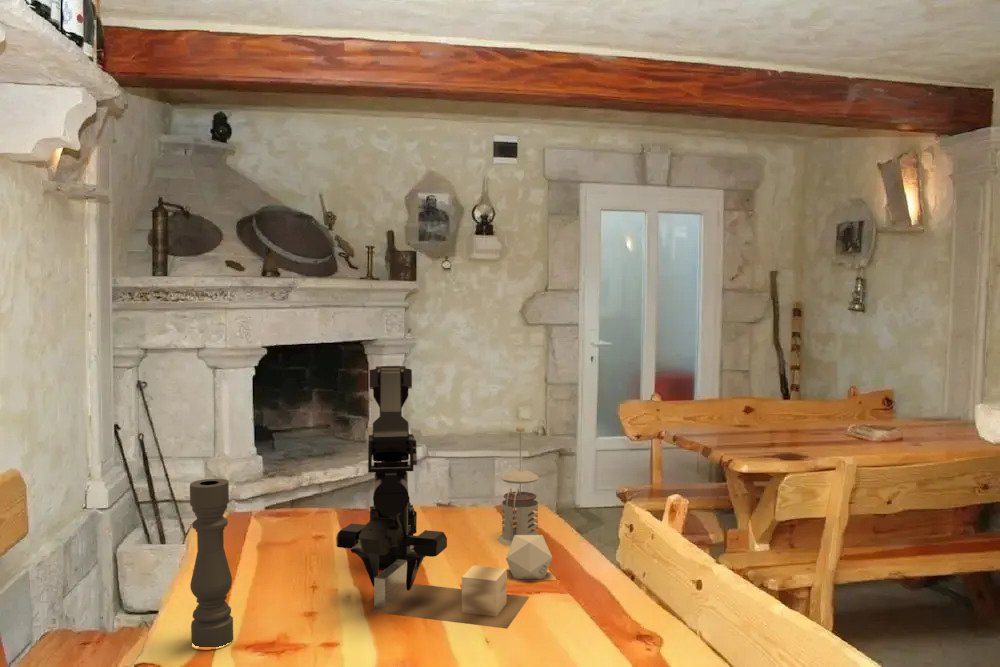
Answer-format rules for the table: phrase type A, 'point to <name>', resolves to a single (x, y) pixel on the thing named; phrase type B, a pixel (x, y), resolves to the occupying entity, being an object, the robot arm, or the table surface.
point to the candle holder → (210, 565)
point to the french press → (518, 505)
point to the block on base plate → (433, 600)
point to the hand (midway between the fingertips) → (391, 587)
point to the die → (529, 557)
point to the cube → (484, 590)
